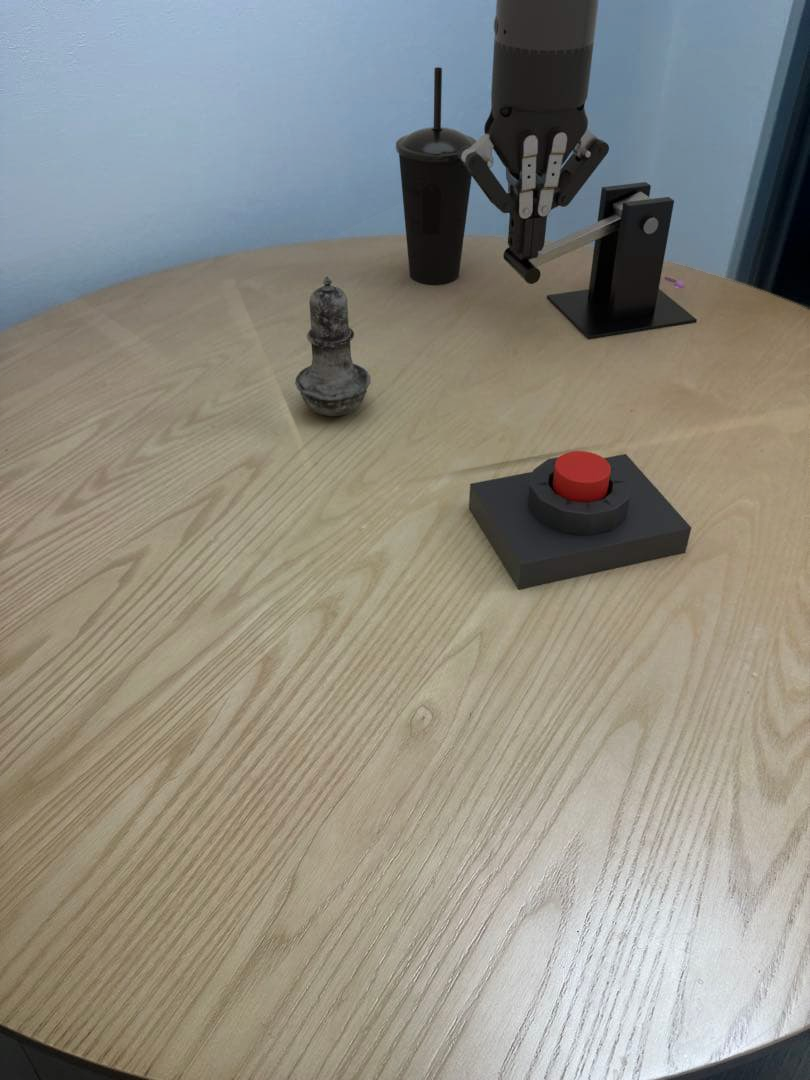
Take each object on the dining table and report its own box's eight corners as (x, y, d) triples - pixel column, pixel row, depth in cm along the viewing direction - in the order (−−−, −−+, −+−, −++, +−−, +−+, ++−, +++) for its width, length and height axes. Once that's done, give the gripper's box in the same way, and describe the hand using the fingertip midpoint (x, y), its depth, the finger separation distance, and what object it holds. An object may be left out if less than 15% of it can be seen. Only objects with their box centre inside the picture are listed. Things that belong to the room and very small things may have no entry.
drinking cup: (487, 287, 95) (499, 70, 82) (425, 305, 92) (428, 83, 79) (442, 261, 100) (447, 54, 87) (382, 279, 97) (378, 65, 84)
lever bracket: (586, 348, 85) (604, 218, 77) (545, 306, 91) (557, 183, 84) (694, 331, 87) (721, 203, 80) (646, 291, 94) (667, 170, 87)
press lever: (528, 291, 82) (522, 267, 80) (506, 269, 85) (500, 245, 84) (664, 230, 82) (661, 204, 80) (636, 210, 86) (633, 185, 84)
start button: (592, 468, 64) (595, 446, 63) (617, 498, 61) (620, 476, 60) (543, 477, 63) (546, 455, 62) (566, 508, 60) (569, 486, 59)
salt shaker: (286, 430, 74) (272, 286, 67) (316, 394, 79) (307, 255, 71) (355, 444, 73) (348, 299, 65) (382, 407, 77) (379, 266, 70)
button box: (621, 478, 69) (629, 432, 67) (685, 553, 63) (697, 505, 60) (468, 508, 66) (470, 461, 64) (518, 590, 60) (523, 541, 57)
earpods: (665, 300, 96) (652, 290, 95) (674, 286, 96) (661, 276, 95) (681, 301, 93) (668, 291, 92) (690, 286, 93) (677, 276, 92)
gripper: (480, 51, 67) (469, 282, 78) (646, 39, 70) (613, 263, 81) (445, 30, 72) (439, 248, 83) (600, 19, 76) (575, 231, 87)
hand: (525, 255), depth 82 cm, fingers closed
